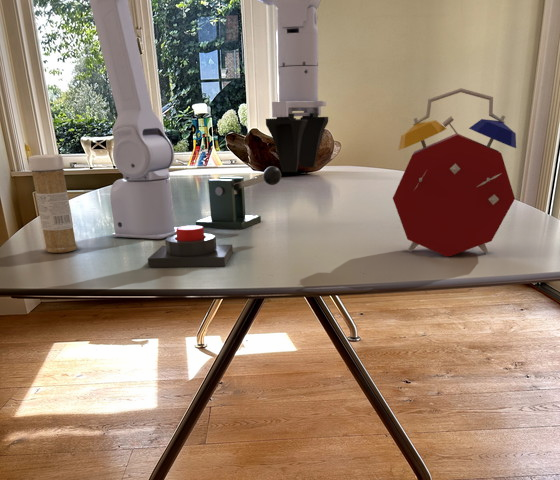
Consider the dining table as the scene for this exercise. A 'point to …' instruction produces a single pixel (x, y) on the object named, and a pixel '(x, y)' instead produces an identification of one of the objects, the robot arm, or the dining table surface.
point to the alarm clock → (454, 184)
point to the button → (190, 233)
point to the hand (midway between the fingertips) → (298, 169)
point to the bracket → (227, 206)
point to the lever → (261, 179)
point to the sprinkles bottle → (53, 202)
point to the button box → (191, 253)
